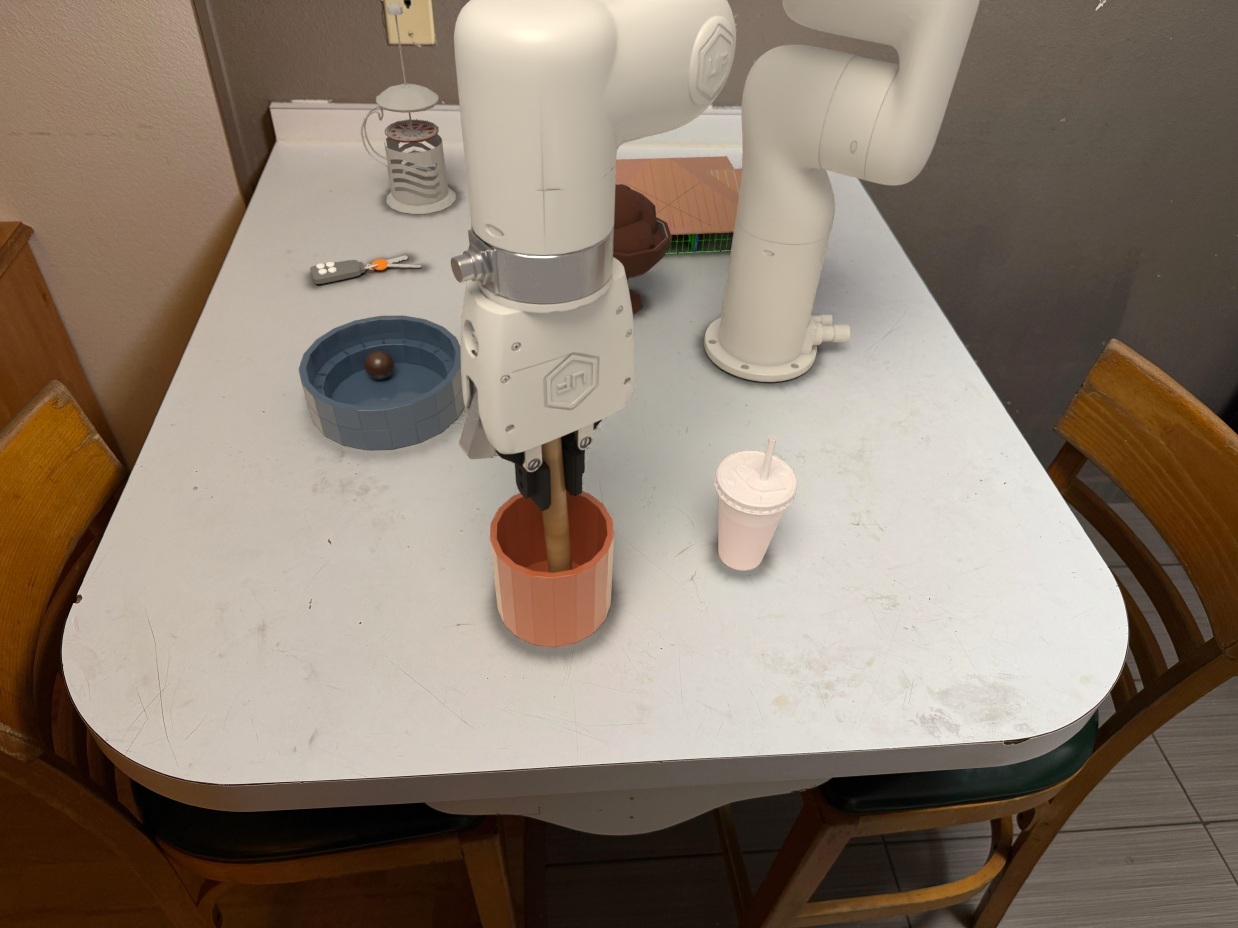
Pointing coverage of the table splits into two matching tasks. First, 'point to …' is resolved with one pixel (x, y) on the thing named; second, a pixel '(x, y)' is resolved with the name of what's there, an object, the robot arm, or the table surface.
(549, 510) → the stirring stick
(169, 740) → the table surface
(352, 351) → the mixing bowl
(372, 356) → the bead
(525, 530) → the utensil pot
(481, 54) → the robot arm
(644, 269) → the ice cream bowl
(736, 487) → the smoothie
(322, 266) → the key chain
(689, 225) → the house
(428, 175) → the french press
